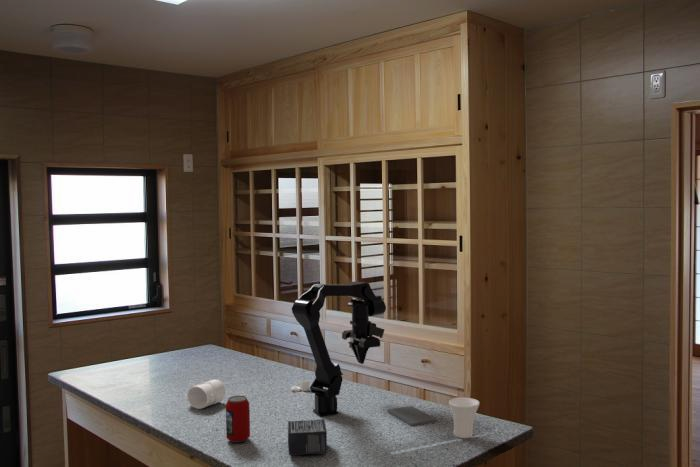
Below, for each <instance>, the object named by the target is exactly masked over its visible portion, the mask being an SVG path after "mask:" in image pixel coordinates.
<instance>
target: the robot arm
mask: <svg viewBox="0 0 700 467" xmlns="http://www.w3.org/2000/svg"><path fill="white" fill-rule="evenodd" d="M327 297H348V298H351V299H350V301H349V302H348V303H347V304H346V306H347V307H350V308H351V320H349V324H350V325H351V326H352V327H351V329H346V330H343V332H342V333H341V339H343V340H344V341H346V340H348V339H349V341H348V342H347V343H348V345H349V346H350V348H351V350H352V352H353V354H354V356H355V358H356V361H357V363H359V364H360V365H363V364H365V359H366V356H367V354H368V351H369V349H371V348H377V347H381V339H383V337H384V333H385V329H384V328H381V327H378V326H377V324H376V323H374V322H372V321H370V320H369V317H374V316H375V317H376V316H380V315H384V313H386V310H387V305H386V303H385V301H384V300H383V299H382V296H381V295H376V294H375V293H374V291H373V289H372V287H371V285H370V283H369V282H365V281H364V282H363V281H356V280H355V281H350V282H347V283H345V284H344V283H343V284H326V283H325V284H324V283H315V284H313V285H312V286H311V287H310V288H309V289H308V290H307V291H305V292H304V293H303V294H301V295H300V296H299V297H298V299H296V300H295V301H294V302H293V305H292V306H291V313H292V314H293V317H294V318H295V319H296V322H297V323H299V325H300V326H301V327H302V328H303V330H304V333H305V335H306V336H305V337H306V338H307V341H308V344H309V347H310V350H311V354H312V356H313V358H314V361H315V364H316V365H315V366H316V367H315V371H314V374H315V378H314V380H313V381H312V382H313V383H312V382H311V383H312V384H311V385H310V386H309V388H310V389H309V390H310V392H311V393H310V394H314V408H313V409H312V411H313V412H314V413H315V414H316V415H318V416H319V417H325V416H331V415H336V414H339V411H338V398H337V396H339V395H340V392H341V388H342V383H343V375H344V373H342V370H341V365H340V364H339V363H336V362H335V363H334V362H332V360H331V357H330V353H329V351H328V348H327V345H326V342H325V338H324V335H323V333H322V330H321V328H320V324H319V323H320V318H321V312H320V311H321V310H322V309H323V307H324V305H325V301H326V299H327ZM314 299H315V300H314ZM378 337H379V338H378Z"/></svg>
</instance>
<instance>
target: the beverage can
mask: <svg viewBox="0 0 700 467" xmlns="http://www.w3.org/2000/svg"><path fill="white" fill-rule="evenodd" d="M250 417H251V415H250V402H249V400H248V398H247V396H246V395H233V396H229V397H228V398H227V401H226V403H225V423H226V424H225V427H226V428H225V431H226V439H227V440H229V441H230V442H233V443H242V442H245V441H247V440H248V439H249V438H250V436H251V420H250V419H251V418H250Z"/></svg>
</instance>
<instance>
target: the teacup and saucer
mask: <svg viewBox="0 0 700 467" xmlns="http://www.w3.org/2000/svg"><path fill="white" fill-rule="evenodd" d="M313 382H314V381H311V380H310V379H302V380H300V384H301V385H300V386H301V387H300V386H295V385H294V386H292V387H291V391H292V392H294V393H297V394H304V395H306V394H308V392H307V391H309V390H310V386H311V385H310V384H311V383H313ZM301 391H303V392H301ZM309 394H312V393H311V391H309Z"/></svg>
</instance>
